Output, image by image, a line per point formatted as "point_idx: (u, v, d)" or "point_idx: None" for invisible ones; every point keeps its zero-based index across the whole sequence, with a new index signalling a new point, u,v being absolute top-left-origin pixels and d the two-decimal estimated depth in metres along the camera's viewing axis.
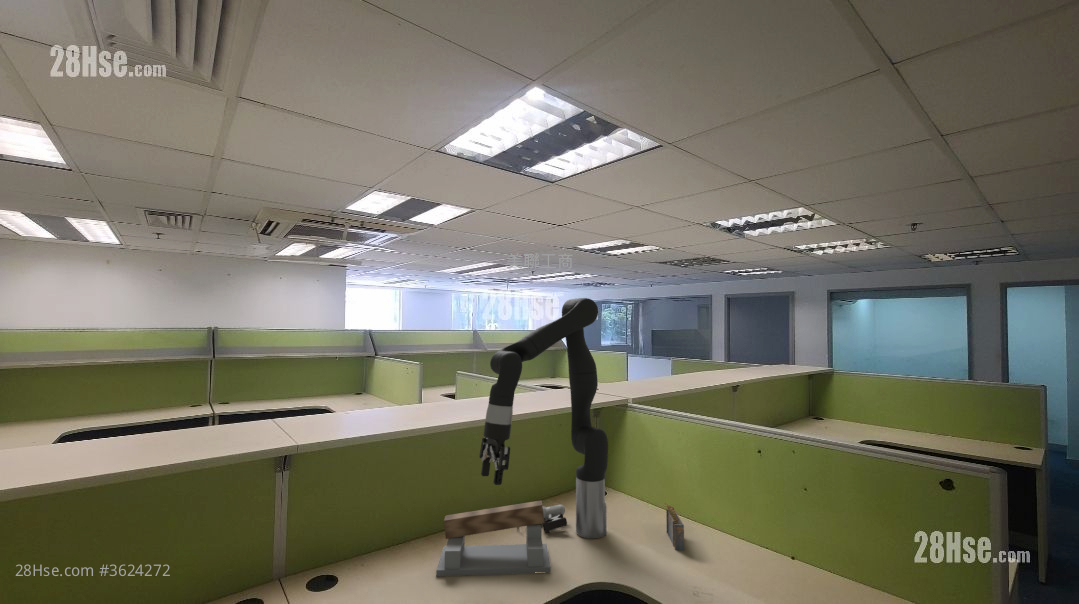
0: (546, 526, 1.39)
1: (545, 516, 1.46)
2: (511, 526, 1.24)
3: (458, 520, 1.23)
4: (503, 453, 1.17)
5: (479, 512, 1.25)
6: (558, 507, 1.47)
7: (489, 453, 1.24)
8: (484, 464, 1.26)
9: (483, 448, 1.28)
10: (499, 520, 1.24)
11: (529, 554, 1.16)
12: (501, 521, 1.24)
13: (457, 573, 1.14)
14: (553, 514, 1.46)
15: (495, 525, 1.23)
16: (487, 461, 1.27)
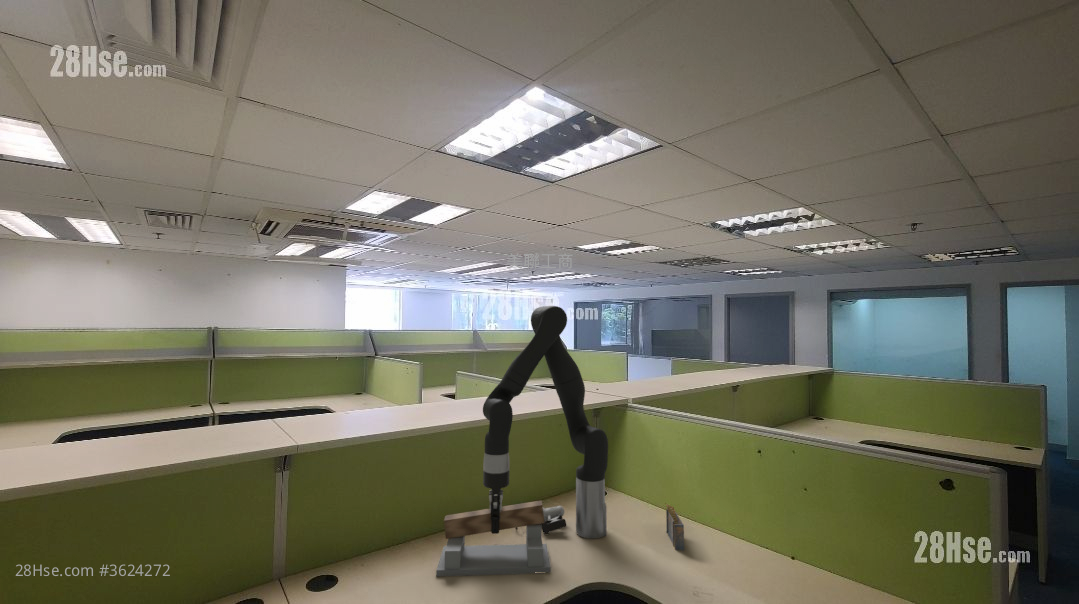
0: (545, 527, 1.38)
1: (544, 517, 1.45)
2: (511, 526, 1.24)
3: (458, 520, 1.23)
4: (492, 508, 1.19)
5: (479, 512, 1.25)
6: (557, 508, 1.46)
7: None
8: None
9: None
10: (499, 520, 1.24)
11: (529, 554, 1.16)
12: (501, 521, 1.24)
13: (457, 573, 1.14)
14: (552, 515, 1.45)
15: None
16: None
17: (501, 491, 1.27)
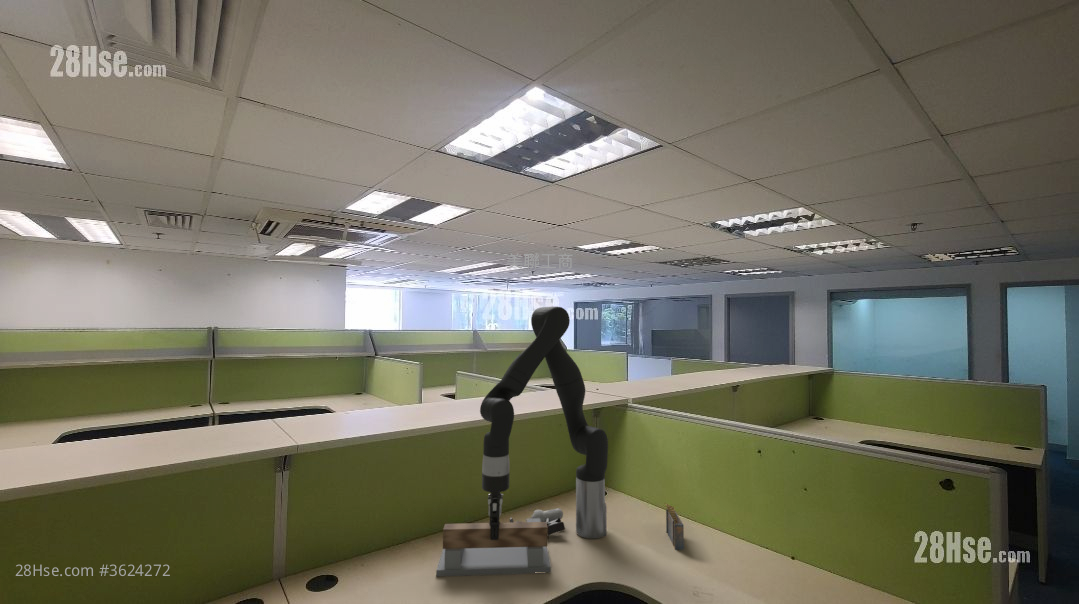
0: None
1: (542, 520, 1.43)
2: (512, 545, 1.17)
3: (458, 531, 1.17)
4: (491, 510, 1.13)
5: (480, 525, 1.19)
6: (556, 511, 1.44)
7: None
8: None
9: None
10: (501, 537, 1.17)
11: (529, 554, 1.16)
12: (502, 539, 1.17)
13: (457, 573, 1.14)
14: (551, 518, 1.43)
15: (495, 541, 1.17)
16: None
17: (501, 495, 1.21)
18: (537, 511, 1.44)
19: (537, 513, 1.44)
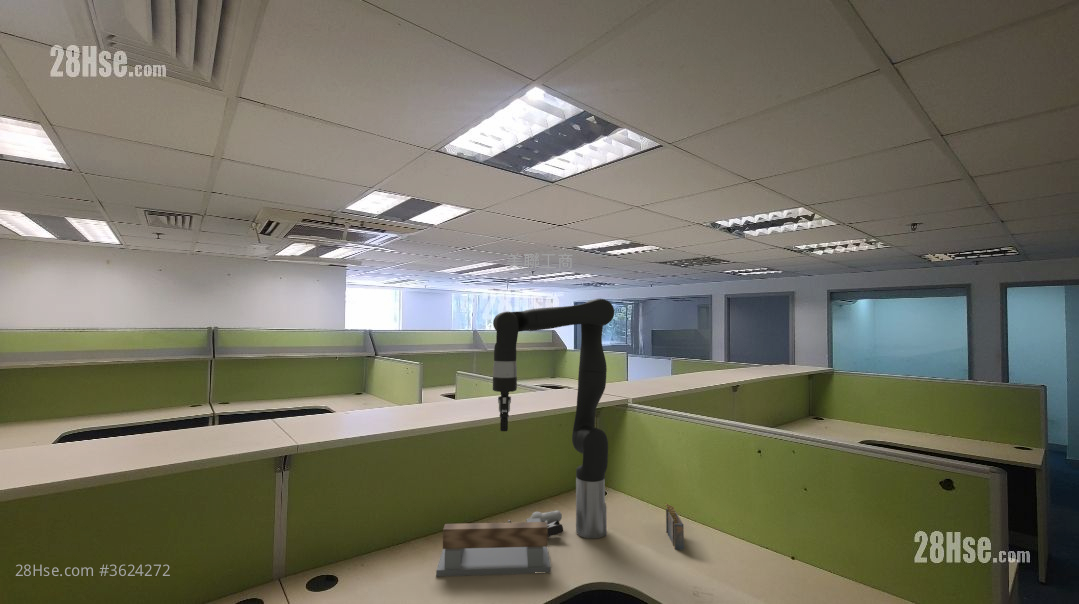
0: None
1: None
2: (512, 545, 1.17)
3: (458, 531, 1.17)
4: (501, 402, 1.29)
5: (480, 525, 1.19)
6: (554, 513, 1.42)
7: None
8: None
9: None
10: (501, 537, 1.17)
11: (529, 554, 1.16)
12: (502, 539, 1.17)
13: (457, 573, 1.14)
14: (549, 520, 1.41)
15: (495, 541, 1.17)
16: (505, 412, 1.40)
17: None
18: (536, 513, 1.43)
19: (535, 515, 1.42)
